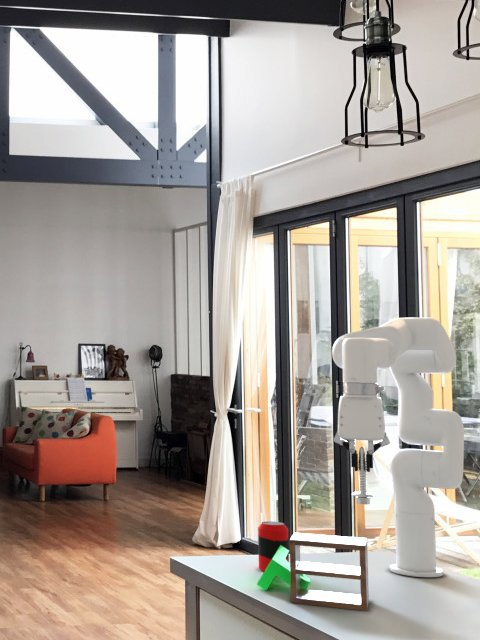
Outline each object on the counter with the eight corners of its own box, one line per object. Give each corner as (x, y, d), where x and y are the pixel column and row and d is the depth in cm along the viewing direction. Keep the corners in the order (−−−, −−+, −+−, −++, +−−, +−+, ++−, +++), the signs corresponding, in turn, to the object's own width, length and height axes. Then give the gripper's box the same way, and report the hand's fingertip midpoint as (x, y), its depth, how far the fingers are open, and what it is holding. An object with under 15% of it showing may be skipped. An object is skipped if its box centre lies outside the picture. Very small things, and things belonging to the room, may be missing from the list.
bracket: (293, 610, 237) (309, 584, 236) (256, 584, 241) (272, 559, 240) (301, 591, 256) (316, 567, 255) (266, 568, 259) (281, 544, 259)
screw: (366, 502, 236) (379, 505, 232) (347, 502, 235) (360, 505, 230) (364, 445, 238) (377, 447, 233) (346, 445, 237) (358, 447, 232)
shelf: (295, 593, 237) (294, 532, 239) (368, 601, 231) (367, 538, 232) (290, 602, 228) (289, 539, 230) (366, 610, 222) (365, 545, 223)
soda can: (264, 566, 269) (263, 519, 270) (293, 569, 264) (292, 522, 266) (254, 570, 263) (253, 523, 264) (283, 574, 258) (282, 526, 259)
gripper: (397, 391, 237) (399, 471, 235) (325, 389, 243) (327, 467, 241) (397, 392, 230) (399, 474, 228) (323, 390, 236) (325, 470, 234)
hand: (362, 470), depth 234 cm, fingers closed on screw, 2 cm apart
